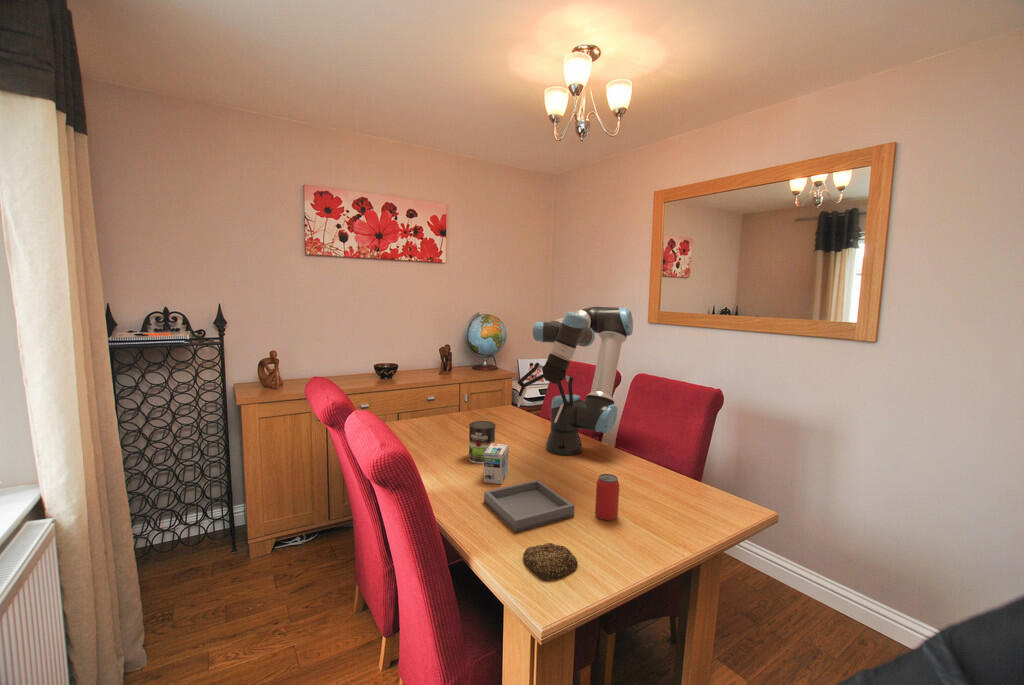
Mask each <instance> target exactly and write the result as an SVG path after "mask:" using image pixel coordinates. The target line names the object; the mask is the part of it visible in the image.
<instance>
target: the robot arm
mask: <svg viewBox="0 0 1024 685" xmlns="http://www.w3.org/2000/svg"><path fill="white" fill-rule="evenodd" d="M633 320H634V319H633V315H632V312H631V310H630V309H629V308H628V307H619V306H617V307H616V306H615V307H611V306H590V307H586V308H583V309H578V310H576V311H574V312H573V311H567V312H566V314H565V315H564V317H561V318H558V319H555V320H551V321H536V322H535V323H534V325H533V327H532V336H533V339H534V340H535V342H540V343H550V344H551V343H552V344H553V345H552V346H551V349H550V353H549V354H548V357H547V359H546V362H545V363H544V365H543V364H541V363H539V362H536V363H535V364H534V366H533V367H532V368H531V369H530V370H529V371H528V372H526V373H525V375H523V376H522V377H521V378H520V379H519V380H518V381H517V384H518V385H519V386H520V390H519V392H518V397H520V398H519V401H518V403H517V408H520V407H521V405H522V401H523V399H524V398H525V395H526V393H527V389H528V388H527V387H529V386H530V385H533V384H535V383H537V382H539V381H540V380H543V379H544V380H545V381H546V382H550V383H552V384H553V385H555V384H557V387H558V390H559V393H560V394H559V395H555V396H554V397H553V398H552V400H551V406H550V410H551V411H550V432H549V434H548V437H547V440H546V442H545V449H546V451H547V452H549V453H551V454H553V455H558V456H575V455H578V454H580V453H581V452H582V451H583V450H582V449H583V444H582V440H581V437H580V433H579V429H581V430H587V431H592V432H596V433H603V434H605V433H606V434H607V433H609V432H611V431H612V429H614V426H615V424H616V421H617V417H618V406H617V405H616V404H615V400H614V398H613V397H612V396H613V391H614V385H615V380H616V375H617V370H618V366H619V360H620V354H621V348H622V344H623V343H625V342H626V341H627V338H628V336H632V334H633V332H634V331H633V330H634V321H633ZM596 334H598V337H599V339H600V340H601V341H600V345H599V350H598V356H597V360H596V366H595V370H594V373H593V374H594V375H593V379H592V384H591V389H590V392H589V393H587V394H586V395H585V399H584V400H583V399H581V397H580V395H578V394H574V393H573V381H574V376H572V375H571V376H569V375H566V374H567V371H568V368H569V365H570V364H571V361H570V360H572V359H573V356H574V354H575V352H576V349H577V346H579V347H585V348H586V347H589V346H591V345H592V344H593V343H594V341H595V339H596ZM540 369H541V372H542V374H540V375H537V376H536V377H534V378H532V379H531V380H528V381H526V380H527V379H528V378H529V377H530V376H532V375H533V373H535V372H536V371H538V370H540ZM565 379H566V382H567V383H568V384H567V386H568V394H566V393H565V391H564V387H563V384H562V381H564V380H565ZM524 381H526V382H524Z"/></svg>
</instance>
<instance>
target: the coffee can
mask: <svg viewBox="0 0 1024 685" xmlns="http://www.w3.org/2000/svg"><path fill="white" fill-rule="evenodd" d="M468 436H469V442H468V446H469V447H468V449H469V450H468V460H469V462H471V463H473V464H478V465H484V452H485V451H486V450H487V449H488V447H489V446H490V444H491V443H495V444H496V423H494V422H492V421H489V420H475V421H472V422H469V434H468Z"/></svg>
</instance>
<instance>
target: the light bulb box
mask: <svg viewBox="0 0 1024 685" xmlns="http://www.w3.org/2000/svg"><path fill="white" fill-rule="evenodd" d="M508 473H509V445H508V444H502V443H496V442H495V443H491V444H490V446H489V447H488V449H487V450H486V451H485V452H484V464H483V483H488V484H496V485H497V484H498V485H502V484H503V482H504V481H505V479H506V478H507V476H508V475H509V474H508Z"/></svg>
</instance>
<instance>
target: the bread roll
mask: <svg viewBox="0 0 1024 685" xmlns="http://www.w3.org/2000/svg"><path fill="white" fill-rule="evenodd" d="M523 560H524V563H525V565H526V566H527V567H528V568H529V570H530V571H532V572H533V573H534V574H535V575H537V577H538V578H540V579H542V580H544V581H551V580H552V581H553V580H559V579H561V578H565V577H566V576H569V574H570V573H572V572H574V571H575V570H577V567H578V561H577V558H576V556H575V555H574V554H573V553H572V552H571V550H570V549H568V548H567V547H566V546H563V545H559V544H555V543H553V542H547V543H544V544H539V545H534V546H529V547H527V548H526V550H525V551H524V552H523Z"/></svg>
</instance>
